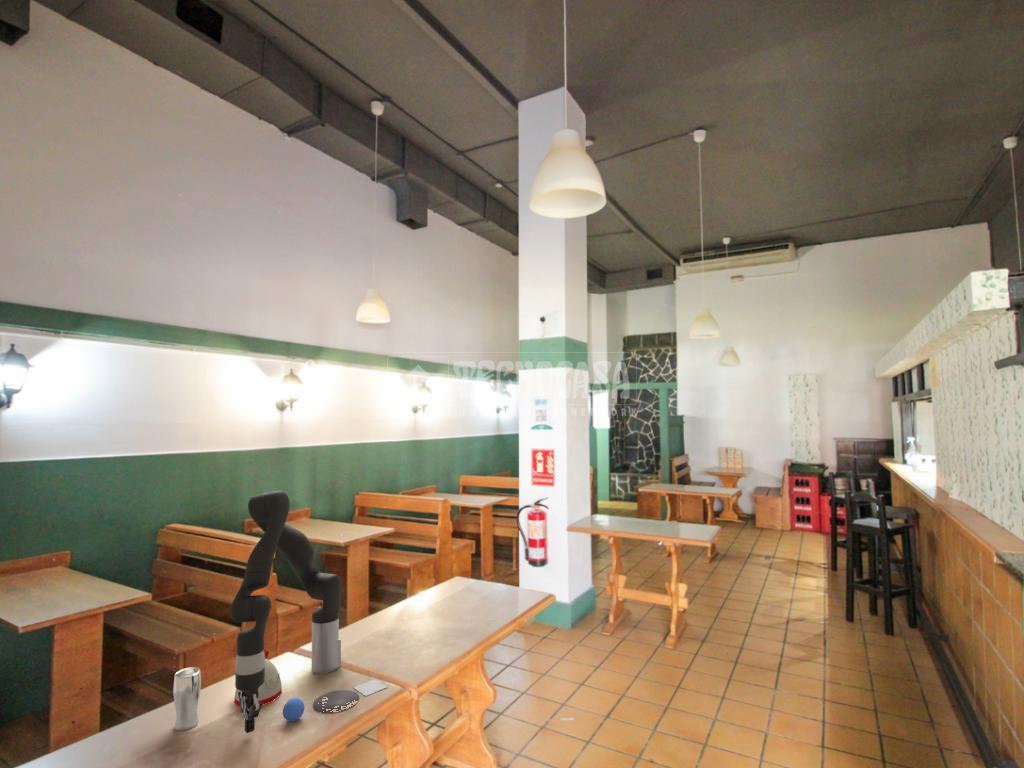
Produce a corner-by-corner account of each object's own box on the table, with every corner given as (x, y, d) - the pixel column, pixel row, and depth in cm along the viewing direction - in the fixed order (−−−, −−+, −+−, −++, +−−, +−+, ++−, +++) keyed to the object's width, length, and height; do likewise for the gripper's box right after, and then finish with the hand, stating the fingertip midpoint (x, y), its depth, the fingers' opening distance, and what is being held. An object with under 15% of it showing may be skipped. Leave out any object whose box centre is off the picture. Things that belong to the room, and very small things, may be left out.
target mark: (346, 686, 179) (346, 685, 179) (367, 701, 169) (367, 700, 169) (305, 702, 169) (305, 701, 170) (325, 718, 160) (325, 718, 160)
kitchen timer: (224, 704, 169) (225, 655, 170) (256, 683, 183) (257, 638, 184) (260, 710, 165) (260, 660, 166) (290, 688, 178) (291, 642, 180)
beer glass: (180, 734, 153) (181, 680, 154) (167, 727, 157) (169, 674, 158) (204, 722, 159) (205, 670, 160) (192, 716, 163) (193, 665, 164)
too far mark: (375, 679, 183) (375, 679, 183) (387, 687, 178) (387, 687, 178) (353, 688, 178) (353, 687, 178) (365, 696, 172) (365, 695, 172)
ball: (300, 692, 164) (280, 698, 160) (308, 699, 160) (287, 704, 156) (299, 714, 163) (279, 720, 159) (306, 721, 159) (286, 727, 155)
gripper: (272, 670, 150) (271, 734, 149) (255, 656, 160) (255, 716, 159) (244, 680, 145) (243, 746, 144) (228, 664, 155) (227, 727, 153)
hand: (249, 731), depth 151 cm, fingers closed
